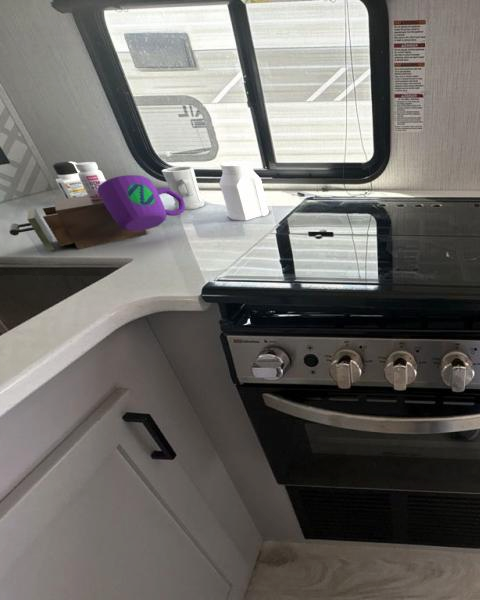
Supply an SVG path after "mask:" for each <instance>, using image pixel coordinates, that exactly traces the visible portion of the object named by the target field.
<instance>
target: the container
mask: <svg viewBox="0 0 480 600" xmlns="http://www.w3.org/2000/svg"><path fill="white" fill-rule="evenodd" d="M76 163H77V162H76V161H60V162H55V163H53V165H52V168H53V169H54V171H55V173H56V175H57V177H58V178H56V179H55V182H56V184H57V186H58V187H59V190H60V192H61V193H62V195H63V197H64V199H67V198H73V197H80V196H87V195H88V194H87V192H86V190H85V188H84V186H83V184H82V182H81V180H80V178H79V176H78V173H79V172H80V171H78V169H77V168H76V166H75V164H76Z"/></svg>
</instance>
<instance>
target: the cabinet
mask: <svg viewBox="0 0 480 600" xmlns="http://www.w3.org/2000/svg"><path fill="white" fill-rule="evenodd" d="M53 203H54V206H55V208H56V212H57V214H58V215H59V217H60V219H61V221H62V222H63V224H64V226H65V227H66V229H67V231H68V233H69V234H70V236H71V238H72V240H73V241H74V243H73V244H74V245H75V247H76V248H77V249H78V250H79V249H85V248H89V247H92V246H93V247H95V246H98V245H102V244H107V243H112V242H116V241H117V242H118V241H121V240H125V239H126V240H127V239H129V238H134V237H138V236H139V237H140V236H144V235H147V234H148V233H147V230H141V231H129V230H125V229H123V228H121V227H120V226H119V225H118V224H117V223H116V222H115V220H114V219H113V218H112V216H111V215H110V213H109V211H108V210H107V208H106V206H105V205H104V203H103V201H102V199H100V200H92V199H90V198H89V196H88V195H87V196H80V197H73V198H67V199H66V198H60V199H54V200H53Z"/></svg>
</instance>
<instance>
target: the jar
mask: <svg viewBox="0 0 480 600" xmlns="http://www.w3.org/2000/svg"><path fill="white" fill-rule="evenodd" d="M220 168H221V172H222V174H221V177H220V180H219V183H218V185H219V187H220V189H221V193H222V197H223V199H224V203H225V206H226V207H225V208H226V210H227V214H228V217H229V219H231V220H233V221H248V220H249V221H250V220H252V219H255V218H260V217H265V216H267V215H268V214H269V208H268V205H267V201H266V195H265V191H264V186H263V182H262V178H261V177H260V176H259V175H258V174H257V173H256V171H254V169H253V164H252V161H249V160H234V161H227V162H222V163H221V164H220Z"/></svg>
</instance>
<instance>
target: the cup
mask: <svg viewBox="0 0 480 600" xmlns="http://www.w3.org/2000/svg"><path fill="white" fill-rule="evenodd" d="M161 173H162V175H163V177H164V179H165V181H166V183H167V186H168V189H170V190H172V191H174V192H175V193H177V194H178V195H180V196H181V197H182V198H183V200H184V203H185V210H184V211H189V210H196V209H199V208H203V207H204V206H205V204H206V203H205V199H203V198H202V195H201V192H200V188H199V186H198V181H197V177H196V173H195V169H194V167H193V166H174V167H168V168H164V169H162V170H161ZM172 198H173V200H174V203H173V204H174V207H175V209H176V210H177V209H179V202H178V200H177V199H175V198H174V197H172Z"/></svg>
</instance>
